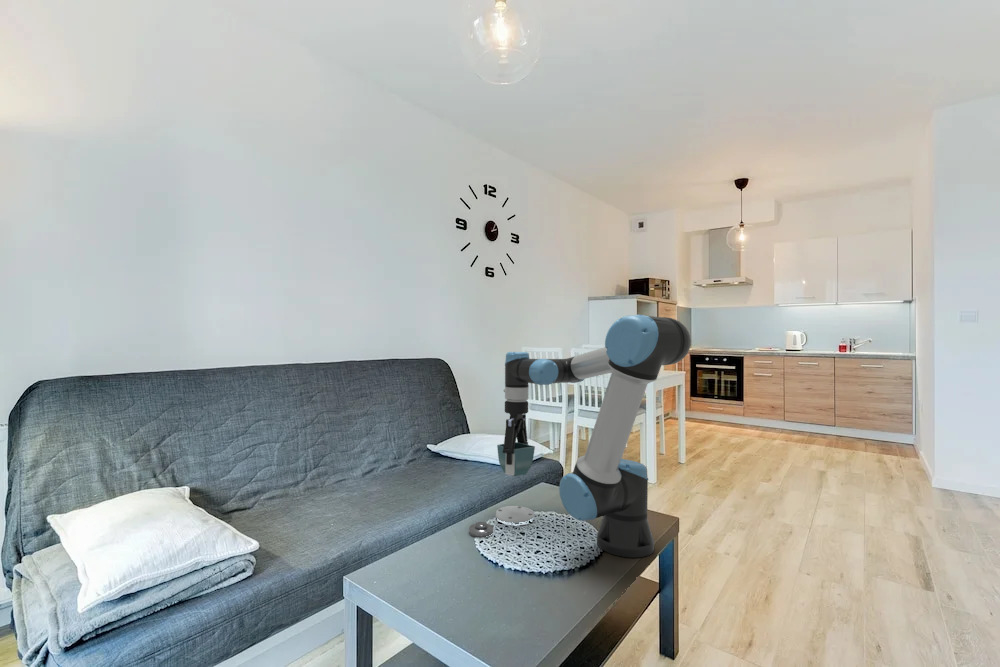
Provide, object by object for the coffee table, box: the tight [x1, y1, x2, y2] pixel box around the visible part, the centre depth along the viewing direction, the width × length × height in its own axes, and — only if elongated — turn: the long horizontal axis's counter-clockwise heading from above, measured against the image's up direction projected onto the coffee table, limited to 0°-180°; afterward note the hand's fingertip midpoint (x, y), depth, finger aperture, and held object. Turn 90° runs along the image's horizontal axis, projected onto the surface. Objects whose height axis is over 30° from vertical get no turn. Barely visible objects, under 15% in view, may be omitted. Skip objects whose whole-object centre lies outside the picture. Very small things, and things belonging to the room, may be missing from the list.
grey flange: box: [495, 505, 535, 523], centre depth 144 cm, size 12×12×2 cm
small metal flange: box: [468, 521, 494, 538], centre depth 133 cm, size 7×7×2 cm
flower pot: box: [496, 441, 536, 477], centre depth 145 cm, size 9×9×9 cm
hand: (515, 470), depth 145 cm, fingers closed on flower pot, 11 cm apart
